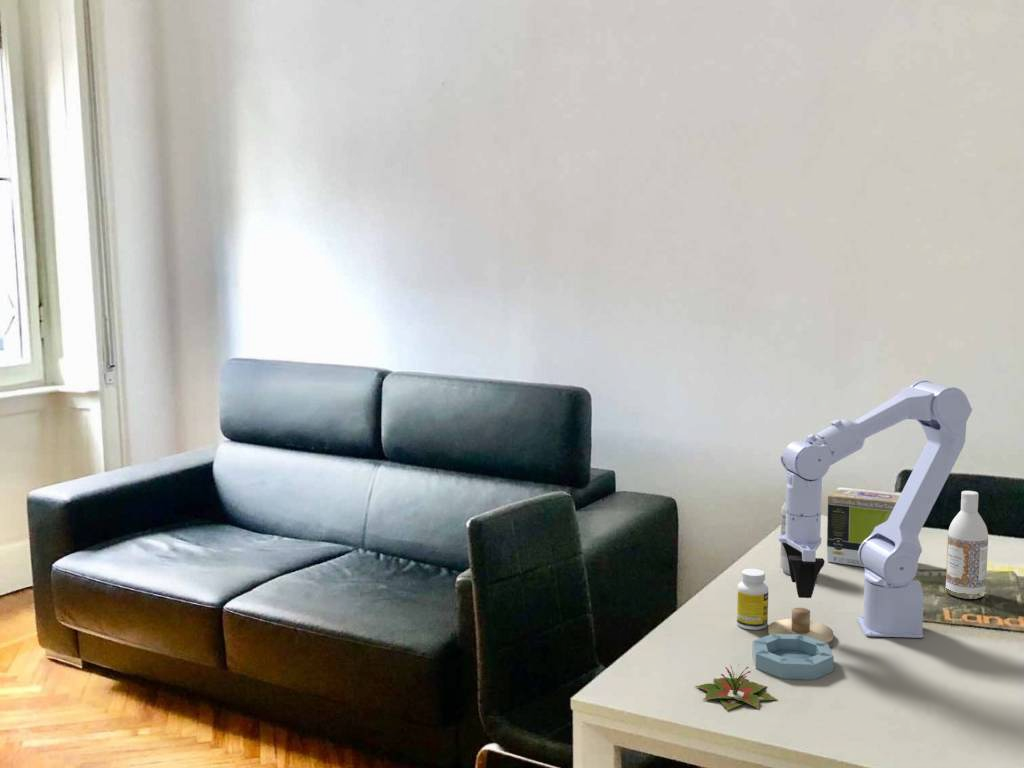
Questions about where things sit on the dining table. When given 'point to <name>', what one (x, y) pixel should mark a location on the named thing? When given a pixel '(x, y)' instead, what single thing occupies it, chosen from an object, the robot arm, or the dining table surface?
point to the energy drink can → (783, 555)
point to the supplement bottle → (752, 600)
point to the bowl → (792, 656)
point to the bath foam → (967, 548)
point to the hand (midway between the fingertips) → (801, 589)
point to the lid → (802, 626)
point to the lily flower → (736, 690)
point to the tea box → (855, 520)
